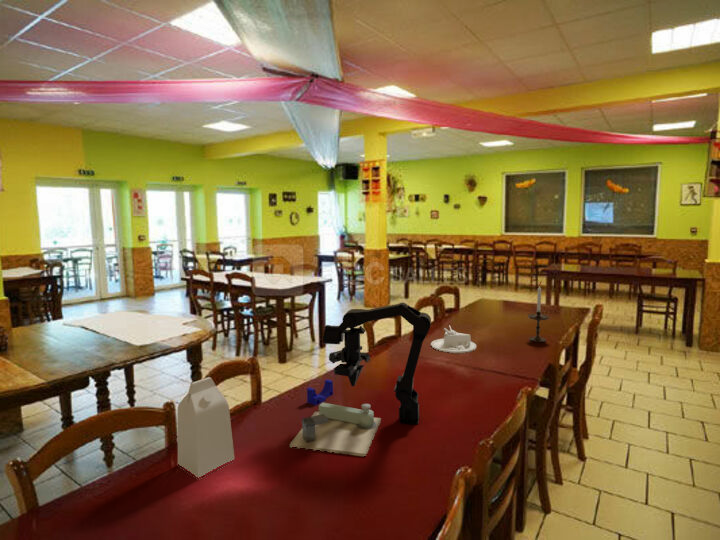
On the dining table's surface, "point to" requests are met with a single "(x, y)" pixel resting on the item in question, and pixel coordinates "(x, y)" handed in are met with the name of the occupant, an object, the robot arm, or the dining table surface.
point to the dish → (454, 342)
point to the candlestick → (538, 318)
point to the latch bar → (348, 414)
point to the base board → (339, 437)
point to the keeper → (312, 426)
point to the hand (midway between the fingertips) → (353, 386)
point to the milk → (204, 429)
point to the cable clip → (322, 396)
